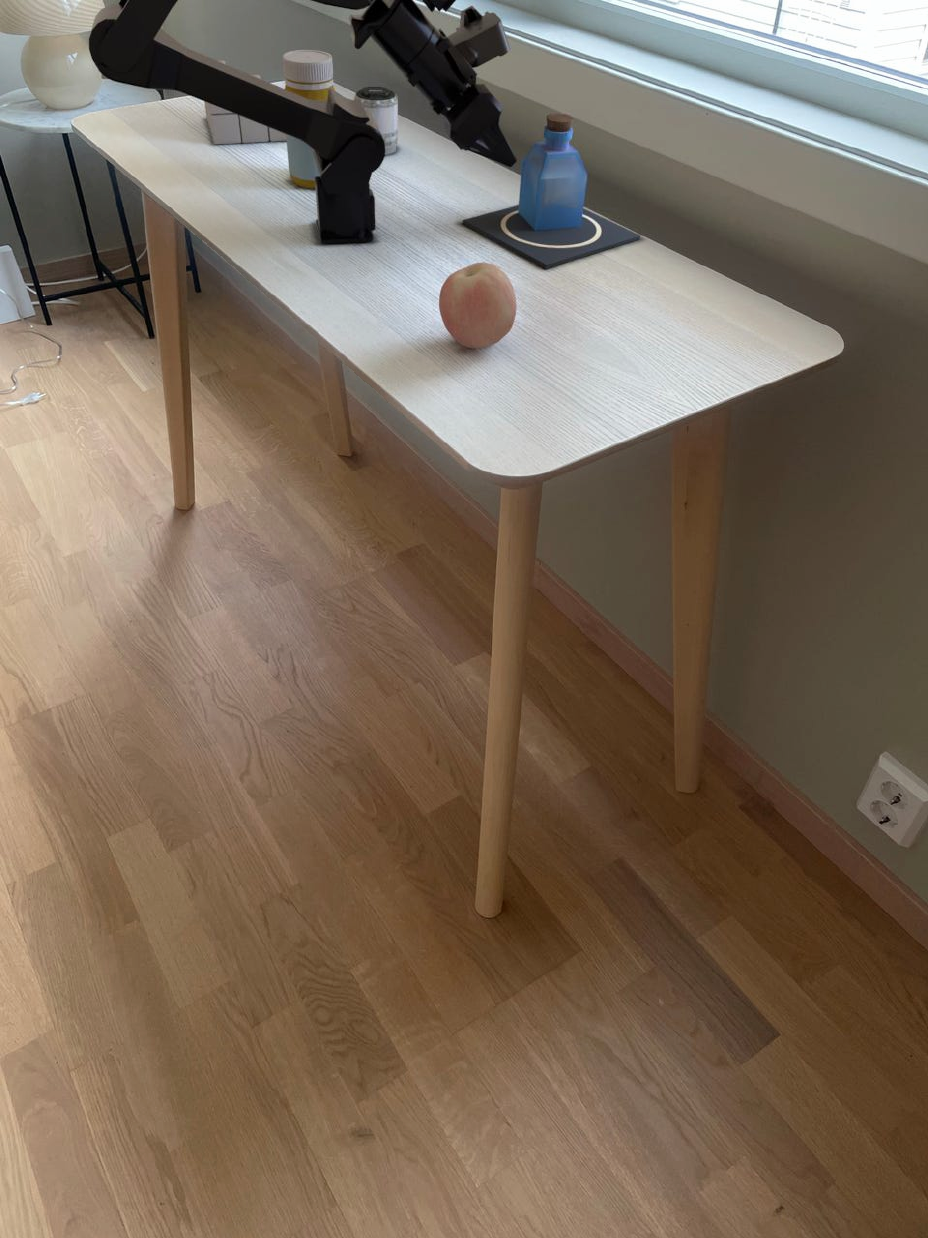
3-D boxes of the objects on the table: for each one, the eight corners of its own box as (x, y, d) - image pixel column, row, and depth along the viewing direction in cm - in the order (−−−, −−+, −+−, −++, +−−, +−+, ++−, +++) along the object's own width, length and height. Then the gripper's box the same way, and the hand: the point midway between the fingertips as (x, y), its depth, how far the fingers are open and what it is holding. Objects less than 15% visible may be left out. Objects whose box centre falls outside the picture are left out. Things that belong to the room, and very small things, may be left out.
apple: (475, 318, 100) (479, 244, 94) (528, 344, 96) (536, 268, 91) (423, 341, 96) (423, 266, 90) (476, 369, 92) (481, 292, 86)
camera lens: (400, 156, 135) (400, 96, 129) (357, 156, 134) (355, 96, 128) (395, 141, 139) (395, 83, 134) (354, 142, 138) (351, 83, 133)
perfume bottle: (562, 208, 122) (573, 108, 113) (580, 226, 117) (593, 123, 109) (518, 212, 120) (526, 110, 112) (535, 230, 116) (545, 127, 107)
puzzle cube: (296, 140, 138) (291, 80, 132) (214, 144, 135) (206, 83, 130) (284, 115, 146) (278, 58, 140) (206, 118, 143) (198, 60, 138)
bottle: (280, 184, 125) (268, 58, 115) (306, 168, 130) (296, 45, 119) (326, 193, 123) (318, 66, 113) (350, 176, 128) (345, 53, 118)
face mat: (545, 268, 109) (546, 263, 109) (462, 223, 118) (462, 218, 118) (639, 239, 117) (640, 234, 116) (554, 198, 126) (555, 193, 125)
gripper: (488, 5, 93) (578, 122, 102) (450, -33, 105) (533, 75, 115) (410, 93, 97) (504, 198, 106) (383, 46, 110) (469, 144, 119)
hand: (504, 150), depth 112 cm, fingers open, 9 cm apart
